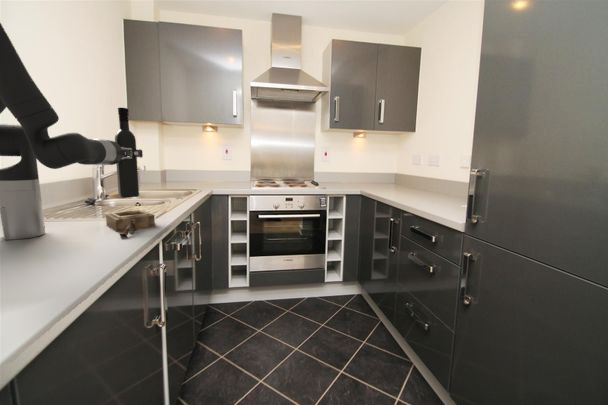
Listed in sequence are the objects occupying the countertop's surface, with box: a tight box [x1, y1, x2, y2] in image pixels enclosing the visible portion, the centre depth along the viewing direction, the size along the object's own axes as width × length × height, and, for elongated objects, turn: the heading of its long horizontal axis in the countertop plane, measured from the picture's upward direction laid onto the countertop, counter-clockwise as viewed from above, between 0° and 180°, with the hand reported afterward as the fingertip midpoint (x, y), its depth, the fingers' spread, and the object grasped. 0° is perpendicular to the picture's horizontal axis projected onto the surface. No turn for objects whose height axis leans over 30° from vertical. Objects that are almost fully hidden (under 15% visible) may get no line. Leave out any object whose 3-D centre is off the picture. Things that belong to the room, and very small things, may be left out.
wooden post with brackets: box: [119, 219, 137, 239], centre depth 93 cm, size 2×8×4 cm, turn 5°
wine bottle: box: [114, 107, 140, 198], centre depth 100 cm, size 6×6×30 cm
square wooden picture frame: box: [105, 209, 156, 233], centre depth 104 cm, size 12×12×5 cm
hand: (128, 153), depth 102 cm, fingers closed on wine bottle, 7 cm apart
